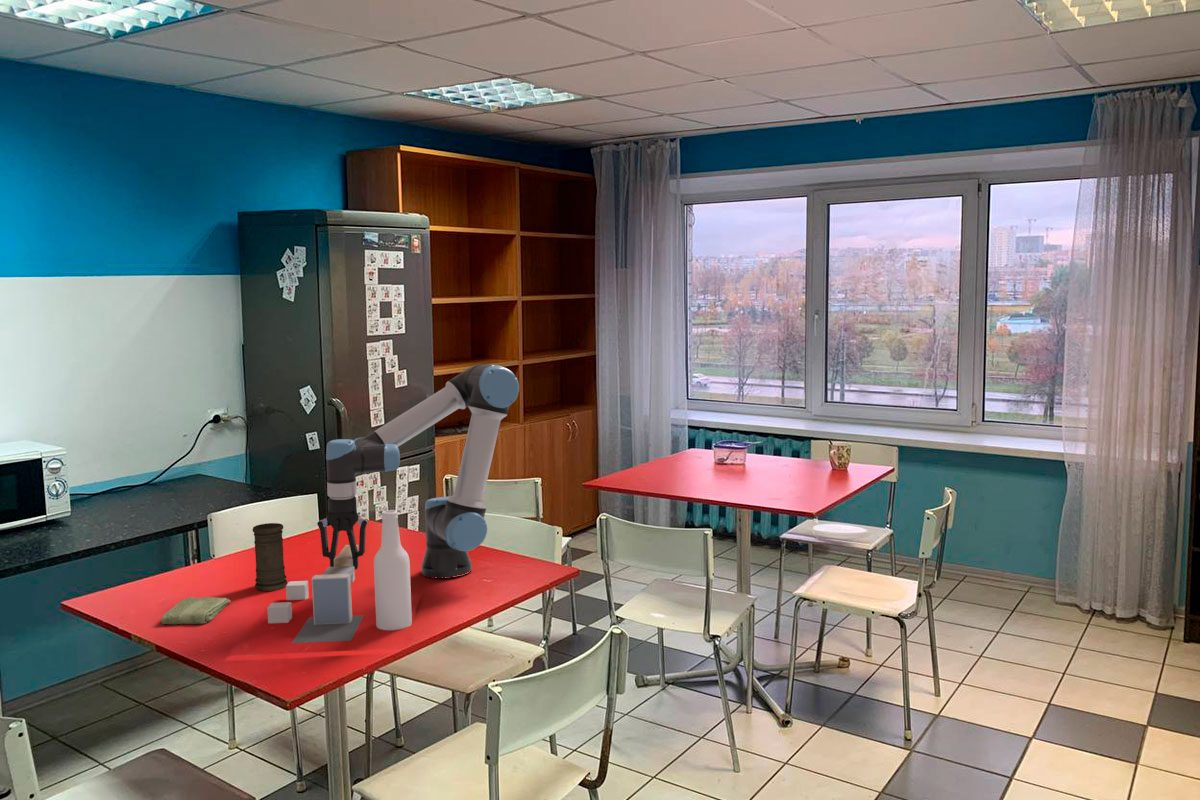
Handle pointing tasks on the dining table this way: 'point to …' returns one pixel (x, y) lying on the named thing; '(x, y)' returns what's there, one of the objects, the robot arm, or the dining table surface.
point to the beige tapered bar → (342, 563)
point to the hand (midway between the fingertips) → (344, 580)
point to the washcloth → (195, 610)
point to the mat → (327, 631)
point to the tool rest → (284, 610)
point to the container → (269, 557)
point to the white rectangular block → (332, 599)
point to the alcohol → (392, 578)
